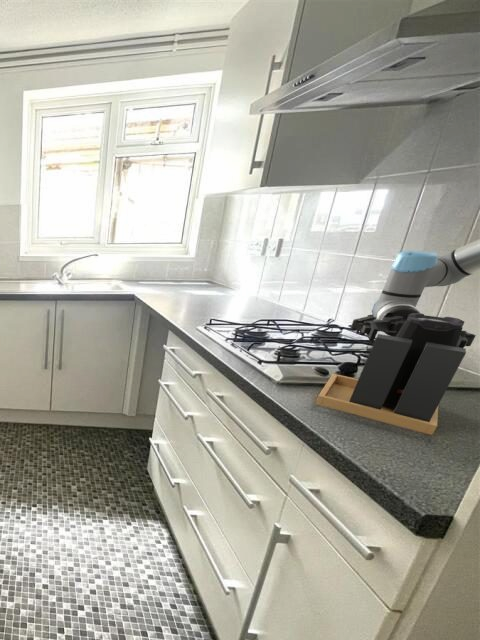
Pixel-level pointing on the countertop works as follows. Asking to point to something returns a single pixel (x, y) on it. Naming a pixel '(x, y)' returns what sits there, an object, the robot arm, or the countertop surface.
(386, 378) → the charcoal box
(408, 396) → the charcoal box
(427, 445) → the countertop surface
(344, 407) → the oak tray
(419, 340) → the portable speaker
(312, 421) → the countertop surface
